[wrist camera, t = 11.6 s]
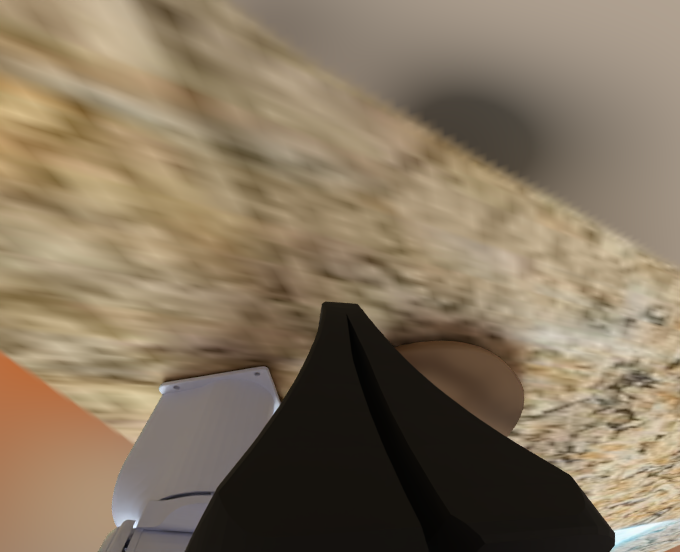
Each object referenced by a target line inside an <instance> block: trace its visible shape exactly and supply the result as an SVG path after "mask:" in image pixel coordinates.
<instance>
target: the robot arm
mask: <svg viewBox="0 0 680 552" xmlns="http://www.w3.org/2000/svg"><path fill="white" fill-rule="evenodd" d="M256 372H258V373H256ZM159 390H160V392H161V393H162V397H161V398H160V400H159V402H158V404H157V405H156V407H155V409H154V411H153V412H152V414H151V416H150V418H149V420H148V421H147V423H146V425H145V427H144V428H143V430H142V432H141V434H140V435H139V437H138V439H137V441H136V442H135V444H134V446H133V448H132V449H131V451H130V453H129V455H128V456H127V458H126V460H125V462H124V464H123V466H122V468H121V470H120V473H119V475H118V478H117V481H116V485H115V489H114V494H113V499H112V514H113V518H114V522H115V524H116V526H117V528H116V529H114V530H113V531H112V532H110V533H109V534H108V535H107V537H106V539H105V540H104V542H103V544H102V545H101V547H100V549H99V551H98V552H610V550H611V549H612V548H613V547H614V545H615V533H614V531H613V530H612V529H611V527H610V526H609V525H608V523H607V522H606V521H605V520H604V518H603V517H602V516H601V514H600V513H599V512H598V510H597V509H596V508H595V507H594V505H593V504H592V503H591V501H590V500H589V499H588V497H587V496H586V495H585V493H584V492H583V491H582V490H581V488H580V487H579V486H578V484H577V483H576V482H575V480H574V479H573V478H572V477H571V476H570V475H569V474H567V473H566V472H564V471H562V470H561V469H559V468H557V467H555V466H554V465H552V464H550V463H549V462H547V461H545V460H544V459H542V458H540V457H539V456H537V455H535V454H534V453H532V452H530V451H528V450H527V449H525V448H523V447H522V446H520V445H518V444H517V443H515V442H514V441H512V440H510V439H509V438H507V437H506V436H504V435H503V434H501V433H500V432H498V431H497V430H495V429H494V428H492V427H491V426H489V425H488V424H486V423H485V422H483V421H482V420H480V419H479V418H477V417H476V416H475V415H473V414H472V413H470V412H469V411H468V410H466V409H465V408H464V407H462V406H461V405H460V404H458V403H457V402H456V401H454V400H453V399H452V398H450V397H449V396H448V395H446V394H445V393H444V392H443V391H441V390H440V389H439V388H438V387H436V386H435V385H434V384H433V383H432V382H431V381H429V380H428V379H427V378H426V377H425V376H424V375H422V374H421V373H420V372H419V371H418V370H417V369H416V368H415V367H414V366H413V365H411V364H410V363H409V362H408V361H407V360H406V359H405V358H404V357H403V356H402V355H401V354H400V353H399V352H398V351H397V350H396V349H395V347H394V346H393V345H392V344H391V343H390V342H389V341H388V340H387V339H386V338H385V337H384V335H383V334H382V333H381V332H380V331H379V330H378V328H377V327H376V326H375V325H374V324H373V322H372V321H371V320H370V319H369V318H368V316H367V315H366V314H365V313H364V311H363V310H362V309H361V308H360V306H359V305H358V304H350V303H337V302H324V303H323V304H322V308H321V314H320V321H319V327H318V332H317V335H316V338H315V340H314V343H313V345H312V347H311V350H310V352H309V354H308V356H307V359H306V361H305V363H304V365H303V367H302V368H301V370H300V372H299V374H298V376H297V378H296V379H295V381H294V383H293V385H292V386H291V388H290V389H289V391H288V393H287V394H286V396H285V398H284V399H283V401H282V402H280V399H279V396H278V393H277V391H276V388H275V385H274V382H273V379H272V377H271V374H270V371H269V369H268V368H267V367H265V366H261V367H255V368H249V369H243V370H237V371H231V372H225V373H219V374H213V375H207V376H201V377H194V378H188V379H182V380H176V381H170V382H164V383H162V384H161V385H160V387H159Z"/></svg>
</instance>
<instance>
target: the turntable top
mask: <svg viewBox="0 0 680 552" xmlns="http://www.w3.org/2000/svg"><path fill="white" fill-rule="evenodd" d="M395 349H396V350H397V351H398V352H399V353H400V354H401V355H402V356H403V357H404V358H405V359H406V360H407V361H408V362H409V363H410V364H411V365H413V366H414V367H415V368H416V369H417V370H418V371H419V372H420V373H421V374H422V375H424V376H425V377H426V378H427V379H428V380H429V381H431V382H432V383H433V384H434V385H435V386H436V387H438V388H439V389H440V390H441V391H443V392H444V393H445V394H446V395H448V396H449V397H450V398H452V399H453V400H454V401H456V402H457V403H458V404H460V405H461V406H462V407H464V408H465V409H466V410H468V411H469V412H470V413H472V414H473V415H475V416H476V417H477V418H479V419H480V420H482V421H483V422H485V423H486V424H488V425H489V426H491V427H492V428H494V429H495V430H497V431H498V432H500V433H501V434H503V435H504V436H506V437H507V436H508V435H509V434H510V433H511V431H512V430H513V428H514V427H515V425H516V424H517V422H518V420H519V418H520V416H521V413H522V410H523V405H524V391H523V387H522V385H521V382H520V380H519V379H518V377H517V376H516V374H515V373H514V372H513V371H512V370H511V368H510V367H509V366H508V365H507V364H506V363H505V362H504V361H503V360H502V359H501V358H500V357H499V356H497V355H495V354H494V353H492V352H491V351H489V350H486V349H484V348H482V347H479V346H476V345H472V344H468V343H463V342H456V341H425V342H416V343H411V344H406V345H401V346H397V347H395Z"/></svg>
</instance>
